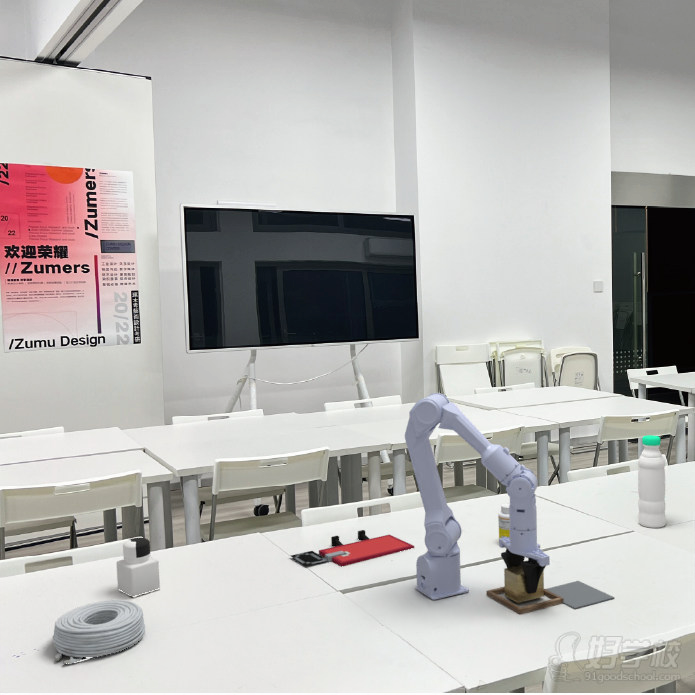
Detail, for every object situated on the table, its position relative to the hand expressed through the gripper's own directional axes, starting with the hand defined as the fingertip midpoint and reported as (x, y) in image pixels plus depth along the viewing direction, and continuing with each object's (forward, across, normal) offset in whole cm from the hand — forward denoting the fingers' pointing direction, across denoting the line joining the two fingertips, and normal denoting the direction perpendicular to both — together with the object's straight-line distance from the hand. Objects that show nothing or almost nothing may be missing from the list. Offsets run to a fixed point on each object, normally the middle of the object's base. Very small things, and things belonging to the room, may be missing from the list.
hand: (524, 588), depth 165 cm
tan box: (+2, 0, 0) cm, 2 cm away
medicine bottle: (+3, +49, +73) cm, 88 cm away
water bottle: (+2, +23, -63) cm, 67 cm away
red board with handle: (+3, +47, +19) cm, 51 cm away
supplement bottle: (+3, +31, -20) cm, 37 cm away
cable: (+3, +26, +85) cm, 89 cm away
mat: (+2, -4, -11) cm, 12 cm away
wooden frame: (+2, 0, 0) cm, 2 cm away
